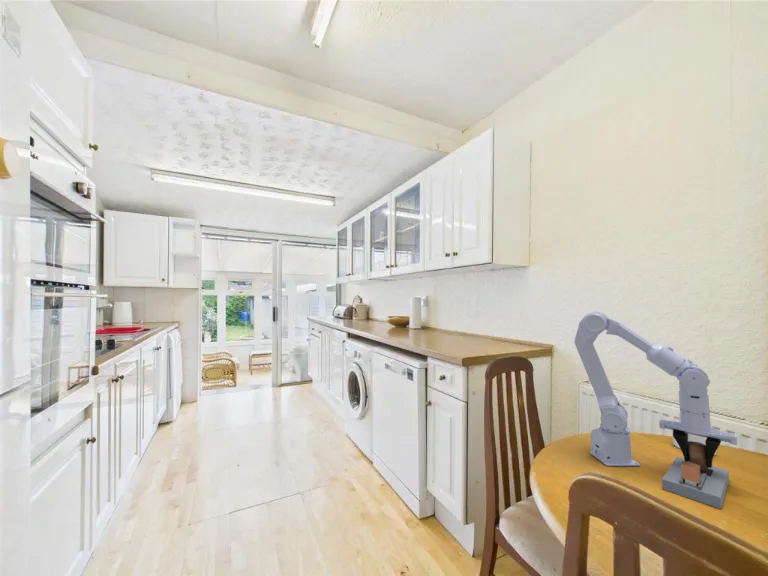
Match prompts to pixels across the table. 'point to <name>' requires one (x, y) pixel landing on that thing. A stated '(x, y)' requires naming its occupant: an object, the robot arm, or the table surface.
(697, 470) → the bar
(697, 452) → the brown wooden block
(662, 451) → the table surface
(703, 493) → the mount board
